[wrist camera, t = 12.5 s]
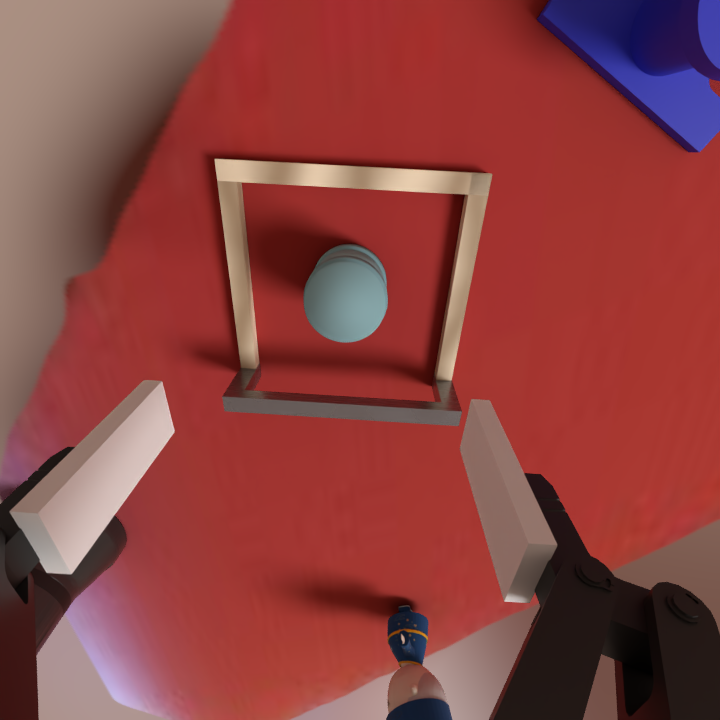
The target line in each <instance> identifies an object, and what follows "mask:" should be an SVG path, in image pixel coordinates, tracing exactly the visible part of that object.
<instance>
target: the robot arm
mask: <svg viewBox="0 0 720 720" xmlns="http://www.w3.org/2000/svg"><path fill="white" fill-rule="evenodd" d="M174 432H175V431H174V427H173V423H172V419H171V415H170V411H169V407H168V403H167V399H166V395H165V391H164V387H163V383H162V381H151V380H144V381H143V382H142V383H141V384H140V385H138V386H137V387H136V388H135V389H134V390H133V391H132V392H131V393H130V394H129V395H128V396H127V397H126V398H125V399H124V400H123V401H122V402H121V403H120V404H119V405H118V406H117V407H116V408H115V409H114V410H113V411H112V412H111V413H110V414H109V415H108V416H107V417H106V418H105V419H104V420H103V421H102V422H101V423H100V424H99V425H98V426H96V427H95V428H94V429H93V430H92V431H91V432H90V433H89V434H88V435H87V436H86V437H85V438H84V439H83V440H82V441H81V442H80V443H79V444H78V445H77V446H76V447H67V448H65V449H63V450H62V451H60V452H58V453H57V454H55V455H53V456H52V457H50V458H49V459H48V460H47V461H46V462H45V463H44V464H43V465H42V466H41V467H40V468H38V471H35V472H34V473H33V474H32V475H31V476H30V477H29V478H28V480H27V481H25V482H23V483H22V484H21V485H20V486H19V487H18V488H17V489H16V490H15V491H14V492H13V493H12V494H11V495H10V496H8V497H7V498H6V499H5V500H4V501H3V502H2V503H1V504H0V720H39V719H38V689H37V661H36V655H37V654H38V652H39V651H40V649H41V648H42V646H43V645H44V643H45V642H46V640H47V639H48V637H49V636H50V634H51V633H52V631H53V630H54V628H55V627H56V625H57V624H58V622H59V621H60V619H61V618H62V617H63V615H64V614H65V612H66V611H67V609H68V608H69V606H70V605H71V603H72V602H73V601H74V599H75V598H76V597H77V596H78V595H80V594H81V593H82V592H83V591H84V590H85V589H86V588H87V587H88V586H89V585H90V584H91V583H93V582H94V581H95V580H96V579H97V578H98V577H99V576H100V575H101V574H102V573H103V572H104V571H105V570H107V569H108V568H109V567H111V566H112V565H113V564H114V562H115V561H116V560H117V558H118V557H119V555H120V554H121V552H122V550H123V549H124V547H125V545H126V541H127V538H126V533H125V530H124V528H123V526H122V525H121V523H120V522H119V521H118V519H117V518H116V517H115V516H114V515H115V514H116V512H117V511H118V510H119V508H120V507H121V505H122V504H123V503H124V501H125V500H126V498H127V497H128V496H129V494H130V493H131V492H132V490H133V489H134V487H135V486H136V485H137V483H138V482H139V480H140V479H141V478H142V476H143V475H144V474H145V472H146V471H147V469H148V468H149V467H150V465H151V464H152V462H153V461H154V460H155V458H156V457H157V456H158V454H159V453H160V451H161V450H162V449H163V447H164V446H165V444H166V443H167V442H168V440H169V439H170V438H171V436H172V435H173V433H174ZM460 451H461V455H462V458H463V461H464V465H465V468H466V472H467V475H468V479H469V482H470V485H471V489H472V492H473V496H474V499H475V503H476V506H477V510H478V513H479V516H480V520H481V523H482V527H483V530H484V534H485V537H486V541H487V544H488V547H489V551H490V554H491V558H492V561H493V565H494V568H495V572H496V575H497V578H498V582H499V585H500V589H501V592H502V596H503V599H504V601H506V602H522V603H530V601H531V599H532V597H533V595H534V593H536V596H537V598H538V601H539V604H540V608H539V610H538V612H537V614H536V616H535V618H534V620H533V622H532V624H531V625H532V626H531V628H530V630H529V632H528V634H527V637H526V639H525V641H524V643H523V645H522V648H521V650H520V652H519V654H518V657H517V659H516V661H515V663H514V666H513V668H512V670H511V672H510V674H509V676H508V679H507V681H506V683H505V685H504V688H503V690H502V692H501V694H500V696H499V699H498V701H497V703H496V705H495V707H494V710H493V712H492V714H491V716H490V718H489V720H583V717H584V713H585V709H586V706H587V702H588V699H589V695H590V691H591V688H592V685H593V681H594V677H595V674H596V670H597V667H598V663H599V660H600V656H601V654H603V655H605V656H608V657H610V658H613V659H614V661H615V679H616V694H617V695H616V696H617V712H618V713H617V714H618V720H720V634H719V631H718V627H717V624H716V621H715V619H714V617H713V615H712V613H711V611H710V610H709V609H708V608H707V607H706V605H704V603H703V602H702V601H701V600H700V599H698V598H697V597H696V596H695V595H694V594H692V593H691V592H690V591H688V590H686V589H684V588H682V587H681V586H679V585H676V584H672V583H669V582H661V583H657V584H656V585H655V586H654V587H653V588H652V589H651V590H648V589H645V588H643V587H640V586H637V585H634V584H631V583H629V582H625V581H623V580H620V579H618V578H616V577H614V575H613V574H612V573H611V571H610V570H609V569H608V568H607V567H606V566H605V565H604V564H603V563H601V562H600V561H599V560H597V559H596V558H594V557H591V556H590V554H589V553H588V551H587V549H586V547H585V546H584V544H583V542H582V540H581V538H580V536H579V534H578V533H577V531H576V529H575V527H574V525H573V523H572V521H571V520H570V518H569V516H568V514H567V513H566V512H565V508H564V506H563V505H562V503H561V502H560V501H559V497H558V495H557V493H556V492H555V490H554V488H553V486H552V485H551V484H550V483H549V482H548V481H547V480H546V479H545V478H544V477H543V476H542V475H541V474H528V473H523V470H522V468H521V466H520V464H519V462H518V460H517V458H516V455H515V453H514V451H513V449H512V447H511V445H510V443H509V441H508V438H507V436H506V434H505V432H504V430H503V428H502V426H501V424H500V421H499V419H498V417H497V415H496V413H495V411H494V409H493V406H492V404H491V402H490V400H476V399H471V403H470V407H469V412H468V416H467V420H466V425H465V429H464V433H463V437H462V442H461V446H460Z"/></svg>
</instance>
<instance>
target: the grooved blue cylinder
mask: <svg viewBox="0 0 720 720" xmlns="http://www.w3.org/2000/svg"><path fill="white" fill-rule="evenodd" d="M387 303H388V297H387V288H386V273H385V269H384V267H383V265H382V263H381V261H380V260H379V258H378V257H377V256H376V255H375V254H374V253H373V252H371V251H370V250H369V249H367V248H365V247H363V246H360V245H356V244H343V245H339V246H336V247H333V248H331V249H330V250H328V251H327V252H326V253H324V254H323V256H322V257H321V258H320V259H319V261H318V262H317V264H316V266H315V268H314V271H313V272H312V274H311V275H310V277H309V279H308V281H307V283H306V286H305V289H304V309H305V313H306V316H307V318H308V320H309V322H310V324H311V325H312V326H313V328H314V329H315V330H316V331H317V332H319V333H320V334H321V335H323V336H324V337H326V338H328V339H331V340H333V341H338V342H354V341H358V340H361V339H364V338H365V337H367V336H369V335H370V334H372V333H373V332H374V331H375V330H376V329H377V327H378V326H379V325H380V323H381V321H382V319H383V317H384V315H385V313H386V309H387Z"/></svg>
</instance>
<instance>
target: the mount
mask: <svg viewBox="0 0 720 720" xmlns="http://www.w3.org/2000/svg"><path fill="white" fill-rule="evenodd" d="M537 20H538V21H539V22H540V23H541V24H542V25H543V26H545V27H546V28H547V29H548V30H549V31H550V32H551V33H553V34H554V35H555V36H556V37H557V38H558V39H559V40H561V41H562V42H563V43H564V44H565V45H566V46H567V47H569V48H570V49H571V50H572V51H573V52H574V53H576V54H577V55H578V56H579V57H580V58H581V59H582V60H584V61H585V62H586V63H587V64H588V65H589V66H590V67H592V68H593V69H594V70H595V71H596V72H597V73H598V74H600V75H601V76H602V77H603V78H604V79H605V80H607V81H608V82H609V83H610V84H611V85H612V86H613V87H615V88H616V89H617V90H618V91H619V92H620V93H621V94H623V95H624V96H625V97H626V98H627V99H628V100H629V101H631V102H632V103H633V104H634V105H635V106H636V107H638V108H639V109H640V110H641V111H642V112H643V113H644V114H646V115H647V116H648V117H649V118H650V119H651V120H652V121H654V122H655V123H656V124H657V125H658V126H659V127H660V128H662V129H663V130H664V131H665V132H666V133H667V134H668V135H670V136H671V137H672V138H673V139H674V140H675V141H677V142H678V143H679V144H680V145H681V146H682V147H683V148H685V149H686V150H687V151H688V152H700V151H701V150H702V149H703V148H704V147H705V146H706V145H707V144H708V143H709V141H710V140H711V139H712V138H713V137H714V136H715V135H716V134H717V133H718V132H719V131H720V97H719V96H718V95H716V94H715V93H714V92H713V91H712V90H711V88H710V86H709V78H710V79H712V80H717V81H720V0H549V1H548V3H547V4H546V6H545V7H544V9H543V11H542V12H541V14H540V15H539V17H538V19H537Z"/></svg>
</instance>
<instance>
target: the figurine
mask: <svg viewBox="0 0 720 720" xmlns="http://www.w3.org/2000/svg"><path fill="white" fill-rule="evenodd" d="M398 609H399V613H397V614H394V615H393V616H391V617H390V618H389V620H388V644H389V645H390V648H391V650H392V652H393V654H394V656H395V657H396V659H397V661H398V662H399V666H400V667H401V668H400V669H399V670H397V671H396V672H395V674H394V675H393V677H392V678H391V681H390V683H389V690H388V711H389V714H388V716H387V718H386V720H452V717H451V713H450V709H449V705H448V704H447V699H446V696H445V693H444V690H443V688H442V686H441V684H440V683H439V681H438V680H437V679H436V677H435V676H434V675H432V674H431V672H429V671H428V670H427V669H426V668H425V667H423V666H422V663H423V659H424V654H425V649H426V644H427V641H428V637H427V636H428V620H427V618H426V617H425V616H423V615H421V614H419V613H415V612H412V610H410V606H409V605H405V606H399V607H398Z"/></svg>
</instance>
